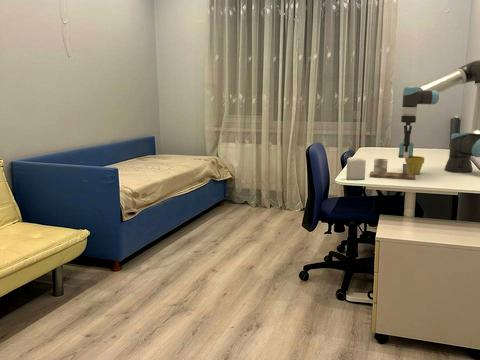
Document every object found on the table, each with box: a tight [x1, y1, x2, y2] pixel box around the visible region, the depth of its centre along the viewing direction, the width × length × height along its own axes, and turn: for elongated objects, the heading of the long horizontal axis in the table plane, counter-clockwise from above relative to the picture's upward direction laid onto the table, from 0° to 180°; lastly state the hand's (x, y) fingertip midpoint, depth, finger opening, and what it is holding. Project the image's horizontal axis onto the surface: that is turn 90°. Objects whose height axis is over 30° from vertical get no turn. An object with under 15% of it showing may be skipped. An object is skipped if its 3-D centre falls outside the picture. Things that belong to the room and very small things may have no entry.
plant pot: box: [404, 155, 425, 175], centre depth 257 cm, size 10×10×10 cm
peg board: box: [369, 157, 417, 181], centre depth 246 cm, size 24×12×10 cm, turn 71°
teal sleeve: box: [397, 141, 415, 159], centre depth 242 cm, size 7×7×8 cm
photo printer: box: [345, 156, 367, 180], centre depth 238 cm, size 10×4×12 cm, turn 96°
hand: (405, 156), depth 243 cm, fingers closed on teal sleeve, 7 cm apart
